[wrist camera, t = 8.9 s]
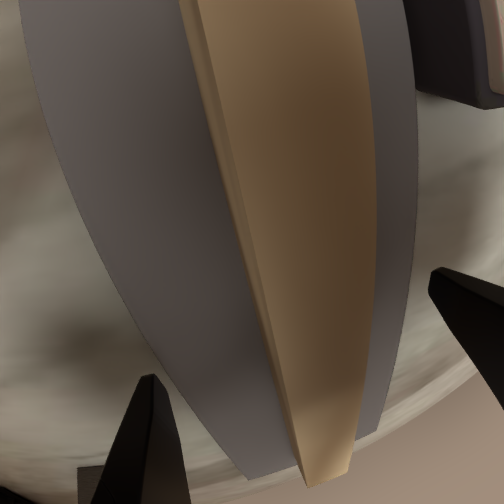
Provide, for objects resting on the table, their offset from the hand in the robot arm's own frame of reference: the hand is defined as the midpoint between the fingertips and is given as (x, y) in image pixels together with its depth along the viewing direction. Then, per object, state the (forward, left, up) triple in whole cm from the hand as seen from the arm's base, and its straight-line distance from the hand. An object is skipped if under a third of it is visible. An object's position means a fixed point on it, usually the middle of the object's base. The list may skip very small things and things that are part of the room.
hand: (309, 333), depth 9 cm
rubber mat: (0, 0, -2) cm, 2 cm away
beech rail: (0, 0, -1) cm, 1 cm away
